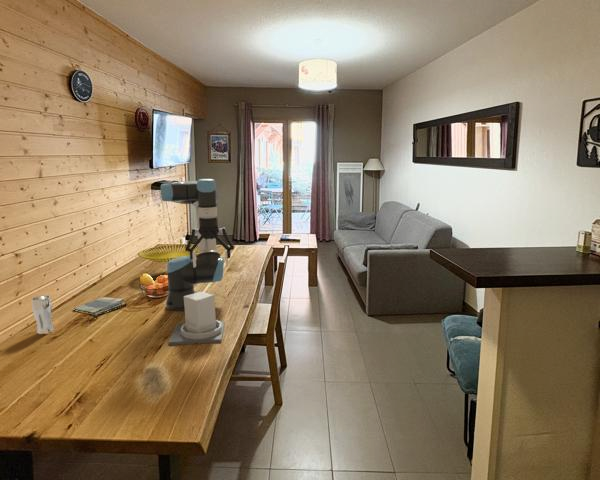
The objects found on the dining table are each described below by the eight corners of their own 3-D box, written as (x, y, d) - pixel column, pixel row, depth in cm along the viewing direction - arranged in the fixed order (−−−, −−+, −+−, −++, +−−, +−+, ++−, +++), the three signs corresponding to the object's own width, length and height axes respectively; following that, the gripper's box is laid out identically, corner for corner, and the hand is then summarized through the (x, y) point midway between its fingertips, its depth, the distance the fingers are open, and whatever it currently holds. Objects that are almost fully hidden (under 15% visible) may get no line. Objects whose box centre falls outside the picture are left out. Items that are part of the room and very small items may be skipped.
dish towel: (71, 311, 209) (70, 305, 208) (103, 300, 224) (103, 294, 224) (97, 318, 200) (97, 311, 200) (129, 305, 216) (128, 299, 215)
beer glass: (58, 328, 187) (53, 294, 184) (49, 335, 180) (44, 300, 177) (41, 329, 187) (36, 295, 184) (32, 335, 180) (27, 300, 177)
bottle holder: (168, 345, 169) (167, 337, 168) (177, 326, 187) (176, 319, 187) (221, 342, 170) (220, 334, 170) (224, 323, 189) (224, 316, 188)
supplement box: (217, 330, 179) (215, 294, 176) (198, 337, 173) (196, 300, 170) (203, 324, 185) (201, 290, 182) (185, 331, 179) (182, 296, 176)
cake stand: (221, 269, 278) (219, 246, 275) (178, 287, 242) (176, 261, 239) (170, 264, 295) (169, 242, 292) (124, 280, 259) (121, 255, 256)
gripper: (175, 219, 178) (179, 269, 183) (237, 217, 180) (240, 267, 184) (179, 216, 185) (182, 264, 190) (239, 214, 187) (241, 262, 192)
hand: (211, 266), depth 187 cm, fingers open, 13 cm apart
